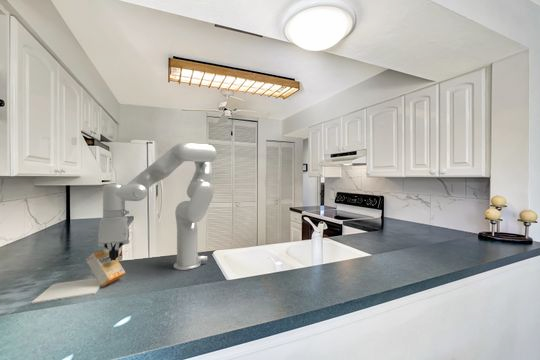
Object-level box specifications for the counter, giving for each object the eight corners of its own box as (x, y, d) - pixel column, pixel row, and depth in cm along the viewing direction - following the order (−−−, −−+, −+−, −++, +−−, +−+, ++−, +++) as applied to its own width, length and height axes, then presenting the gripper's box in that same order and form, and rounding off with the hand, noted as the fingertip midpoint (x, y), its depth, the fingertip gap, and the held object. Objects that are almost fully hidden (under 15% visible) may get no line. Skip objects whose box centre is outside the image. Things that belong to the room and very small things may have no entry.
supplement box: (110, 280, 92) (92, 252, 94) (101, 287, 93) (84, 260, 95) (126, 272, 100) (110, 247, 102) (119, 278, 101) (103, 253, 103)
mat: (106, 278, 102) (106, 276, 102) (95, 294, 87) (95, 292, 87) (53, 285, 95) (53, 283, 95) (31, 304, 80) (31, 302, 80)
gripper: (136, 212, 103) (136, 254, 102) (94, 214, 97) (94, 259, 97) (133, 214, 96) (133, 260, 96) (88, 216, 90) (88, 265, 90)
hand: (113, 259), depth 96 cm, fingers closed
